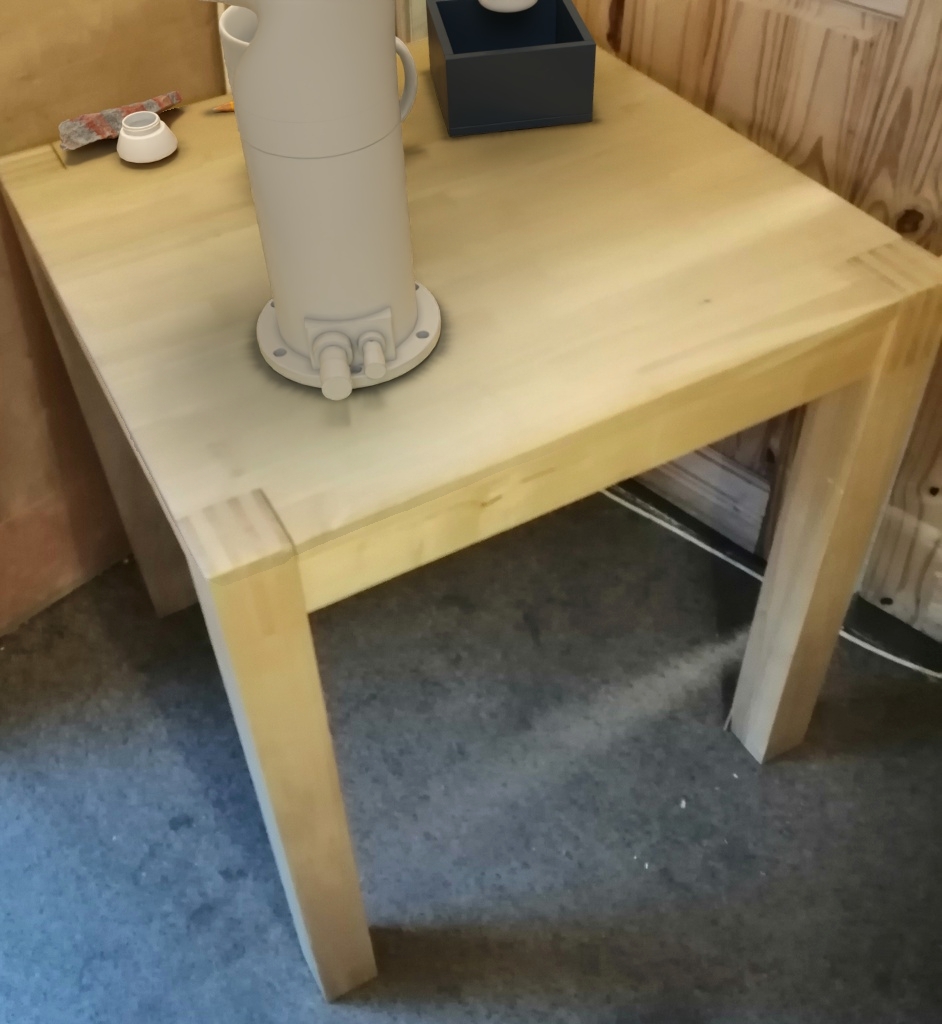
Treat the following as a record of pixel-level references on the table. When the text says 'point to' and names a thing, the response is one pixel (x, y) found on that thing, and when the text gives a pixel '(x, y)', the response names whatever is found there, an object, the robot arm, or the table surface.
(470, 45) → the bin
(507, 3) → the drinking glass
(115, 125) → the stone
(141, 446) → the table surface
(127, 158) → the lidless jar
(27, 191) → the table surface
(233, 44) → the mug
